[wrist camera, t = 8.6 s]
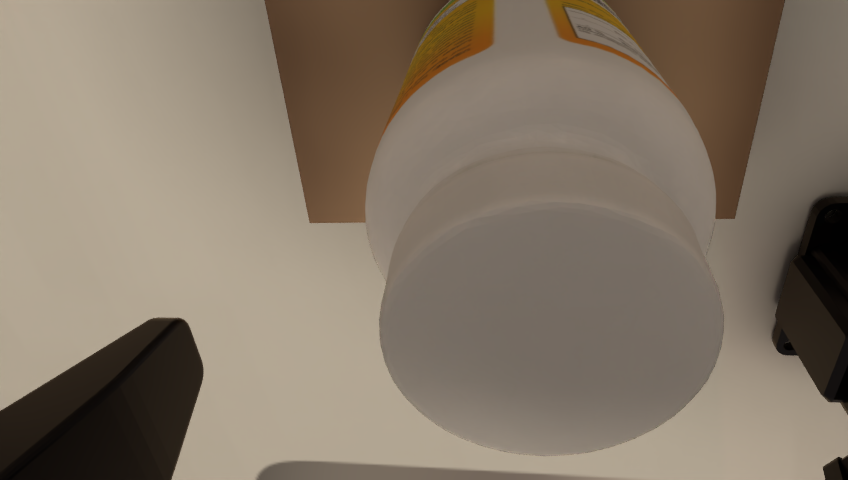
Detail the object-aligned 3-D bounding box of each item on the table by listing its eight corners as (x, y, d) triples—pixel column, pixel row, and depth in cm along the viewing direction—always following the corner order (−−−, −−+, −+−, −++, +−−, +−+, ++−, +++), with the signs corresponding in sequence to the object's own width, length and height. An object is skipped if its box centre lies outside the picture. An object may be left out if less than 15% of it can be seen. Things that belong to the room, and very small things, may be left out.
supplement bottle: (424, 184, 17) (358, 490, 9) (399, -22, 14) (267, 153, 6) (624, 174, 16) (751, 499, 8) (639, -46, 13) (860, 115, 5)
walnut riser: (751, -127, 15) (813, -121, 12) (698, 161, 20) (734, 218, 17) (293, -91, 17) (248, -78, 14) (336, 169, 21) (309, 222, 18)
